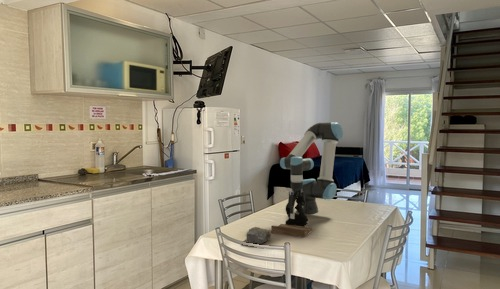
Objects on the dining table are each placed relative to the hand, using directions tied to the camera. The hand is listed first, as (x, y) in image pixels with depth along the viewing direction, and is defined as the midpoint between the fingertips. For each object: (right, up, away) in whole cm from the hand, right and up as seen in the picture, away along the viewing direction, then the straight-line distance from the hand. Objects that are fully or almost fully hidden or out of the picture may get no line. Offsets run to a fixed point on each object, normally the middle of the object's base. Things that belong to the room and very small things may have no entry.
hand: (296, 217), depth 232 cm
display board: (-5, -5, -16) cm, 17 cm away
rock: (-25, -7, -31) cm, 41 cm away
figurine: (0, -5, 0) cm, 5 cm away
